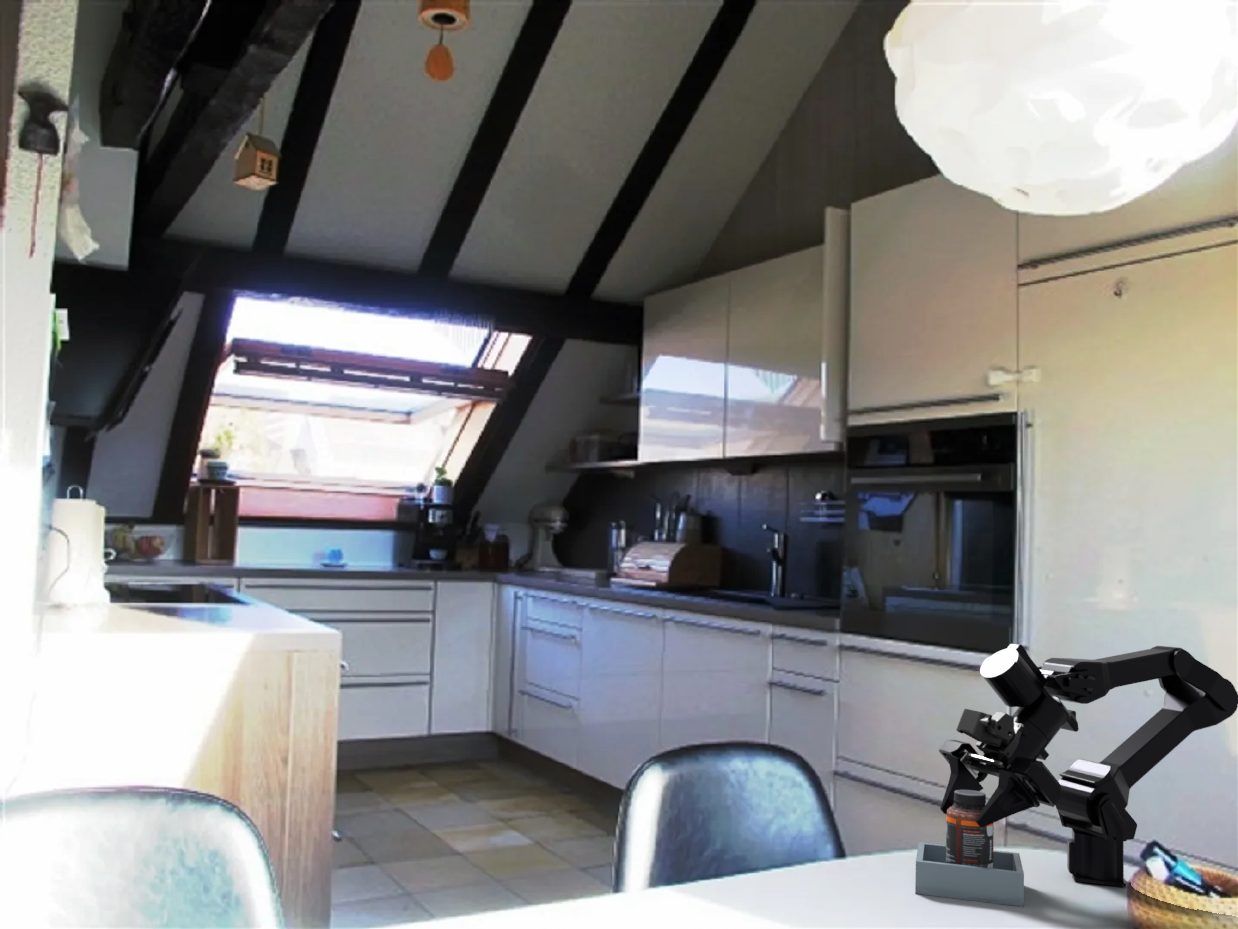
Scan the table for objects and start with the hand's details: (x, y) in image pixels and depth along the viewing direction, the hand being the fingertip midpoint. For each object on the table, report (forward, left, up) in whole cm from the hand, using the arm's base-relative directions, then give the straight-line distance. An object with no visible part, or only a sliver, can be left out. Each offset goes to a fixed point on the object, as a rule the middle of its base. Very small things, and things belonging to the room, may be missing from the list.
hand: (960, 818), depth 143 cm
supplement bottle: (-1, -1, -8) cm, 8 cm away
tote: (-1, -1, -9) cm, 9 cm away
